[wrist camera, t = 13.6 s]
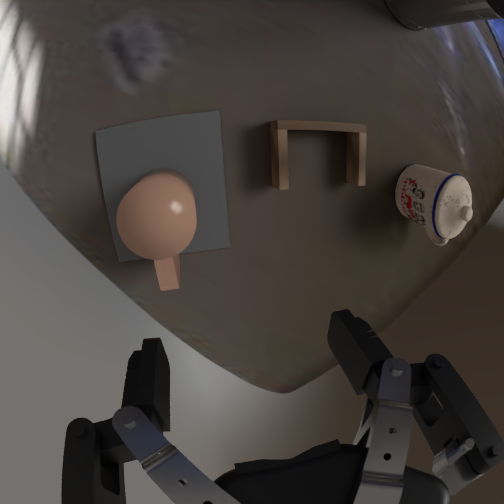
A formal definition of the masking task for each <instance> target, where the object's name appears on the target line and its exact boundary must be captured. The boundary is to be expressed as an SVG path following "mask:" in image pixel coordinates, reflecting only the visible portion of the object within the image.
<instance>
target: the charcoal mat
mask: <svg viewBox="0 0 504 504" xmlns="http://www.w3.org/2000/svg"><path fill="white" fill-rule="evenodd" d="M95 135H96V144H97V153H98V161H99V168H100V175H101V182H102V188H103V193H104V199H105V204H106V209H107V214H108V219H109V223H110V228H111V232H112V236H113V241H114V245H115V249H116V253H117V256H118V260H119V262H126V261H133V260H140V259H147V258H143V257H141V256H139V255H137V254H135V253H134V252H132V251H131V250H130V249H129V248H128V247H127V246H126V245H125V244H124V242H123V241H122V239H121V237H120V235H119V233H118V229H117V224H116V216H117V210H118V207H119V204H120V202H121V200H122V199H123V197H124V196H125V195H126V194H127V193H128V192H129V191H130V190H131V189H132V188H133V187H134V186H135V185H136V184H137V183H138V182H139V181H140V180H141V179H142V178H143V177H144V176H145V175H146V174H148V173H150V172H151V171H154V170H157V169H163V168H166V169H173V170H176V171H178V172H180V173H181V174H183V175H184V176H185V177H186V178H187V179H188V180H189V181H190V183H191V185H192V187H193V189H194V194H195V205H196V219H197V223H196V230H195V233H194V236H193V238H192V240H191V242H190V243H189V245H188V246H187V247H186V248H185V249H184V250H183V251H182V252H180V253H179V254H183V253H190V252H198V251H205V250H212V249H220V248H227V247H230V238H229V227H228V215H227V203H226V191H225V178H224V164H223V151H222V136H221V121H220V111H210V112H200V113H191V114H182V115H175V116H168V117H161V118H155V119H149V120H144V121H139V122H133V123H129V124H124V125H119V126H115V127H111V128H106V129H102V130H98V131H95Z"/></svg>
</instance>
